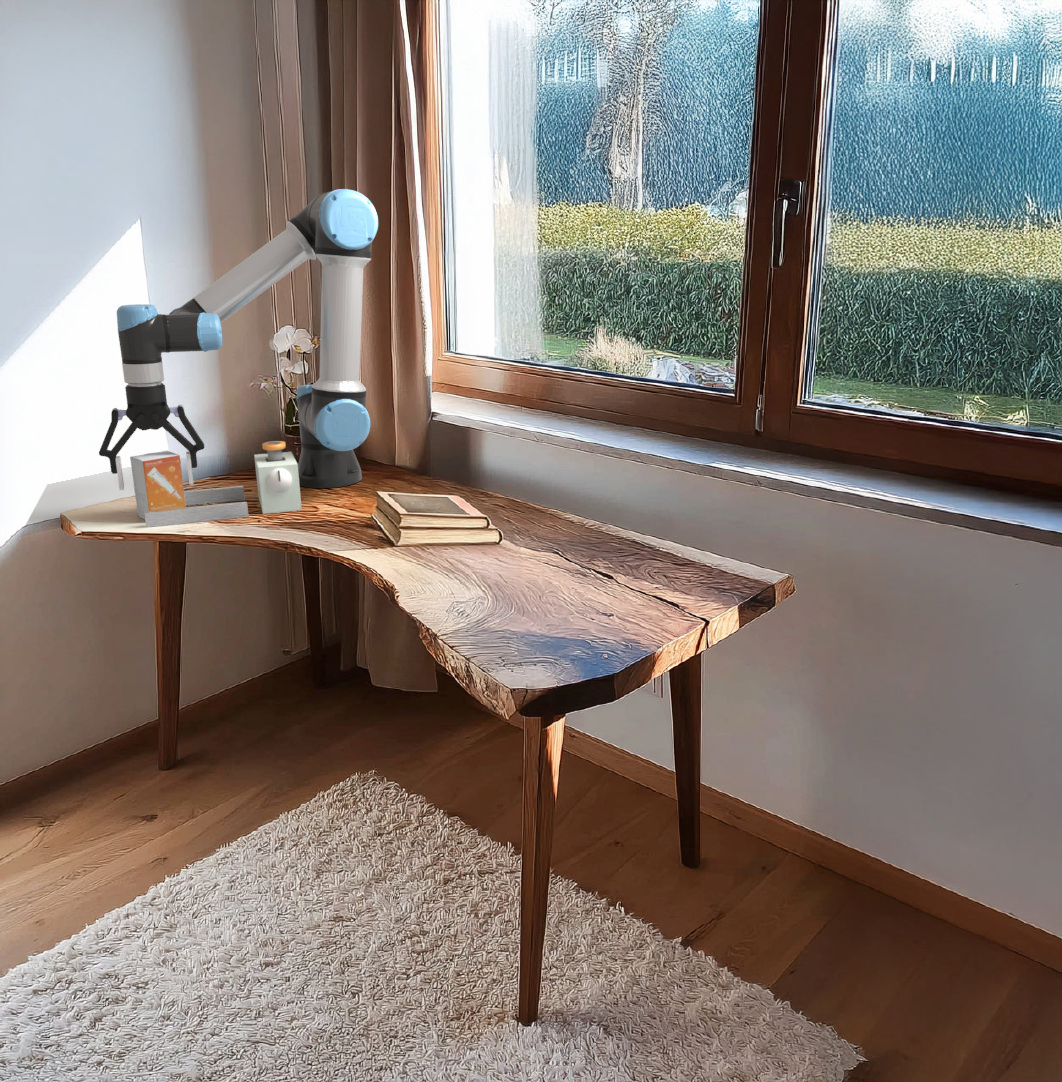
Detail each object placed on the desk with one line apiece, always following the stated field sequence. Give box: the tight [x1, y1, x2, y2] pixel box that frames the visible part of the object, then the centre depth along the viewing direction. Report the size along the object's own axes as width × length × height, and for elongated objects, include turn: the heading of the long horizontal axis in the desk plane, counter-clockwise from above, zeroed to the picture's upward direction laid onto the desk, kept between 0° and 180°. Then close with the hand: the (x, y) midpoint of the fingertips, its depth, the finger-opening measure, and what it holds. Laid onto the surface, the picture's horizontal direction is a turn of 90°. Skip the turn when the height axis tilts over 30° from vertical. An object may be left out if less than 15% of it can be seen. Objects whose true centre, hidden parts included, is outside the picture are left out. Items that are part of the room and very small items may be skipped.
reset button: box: [261, 440, 287, 462], centre depth 210 cm, size 5×5×6 cm
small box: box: [129, 450, 187, 520], centre depth 204 cm, size 8×6×13 cm
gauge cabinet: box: [253, 451, 303, 515], centre depth 212 cm, size 8×14×10 cm, turn 19°
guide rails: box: [144, 485, 249, 528], centre depth 208 cm, size 20×15×3 cm
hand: (157, 486), depth 204 cm, fingers open, 13 cm apart
